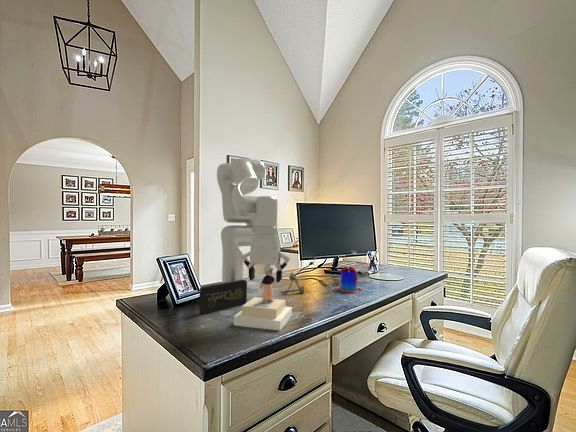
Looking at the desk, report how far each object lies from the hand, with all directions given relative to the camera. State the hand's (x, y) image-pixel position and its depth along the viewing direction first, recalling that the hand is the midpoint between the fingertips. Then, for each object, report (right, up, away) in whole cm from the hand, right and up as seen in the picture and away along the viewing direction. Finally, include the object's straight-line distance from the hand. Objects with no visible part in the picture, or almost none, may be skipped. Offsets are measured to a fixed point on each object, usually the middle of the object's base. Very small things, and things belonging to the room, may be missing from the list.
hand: (265, 280), depth 110 cm
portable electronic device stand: (+12, -14, +42) cm, 46 cm away
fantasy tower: (+38, -15, +48) cm, 63 cm away
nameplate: (-17, -14, +12) cm, 25 cm away
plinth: (0, -14, 0) cm, 14 cm away
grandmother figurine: (+1, -8, +1) cm, 8 cm away
